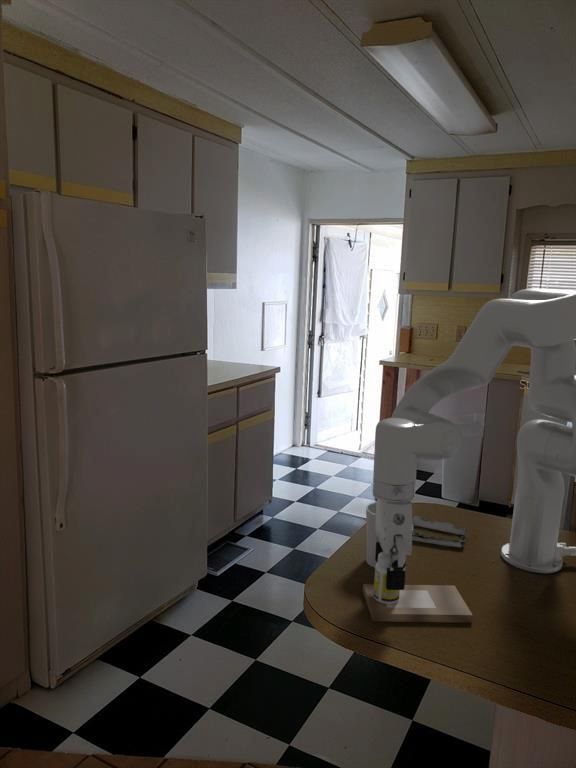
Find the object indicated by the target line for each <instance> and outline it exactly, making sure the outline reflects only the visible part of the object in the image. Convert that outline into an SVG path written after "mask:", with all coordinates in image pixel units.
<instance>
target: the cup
mask: <svg viewBox="0 0 576 768" xmlns="http://www.w3.org/2000/svg"><path fill="white" fill-rule="evenodd" d="M376 505H377V501H376V502H371V503H369V504H367V505H366V506H365V516H366V517H365V519H366V521H365V523H366V527H365V528H366V530H365V532H366V537H365V538H366V559H365V560H366V563H367V565H369V566H370V567H373V568H374V569H375V566H376V564H377V563H378V562H376V560H375V555H376V542H379V541H377V535H376V529H375V520H376ZM395 551H396V549H393V552H395Z"/></svg>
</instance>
